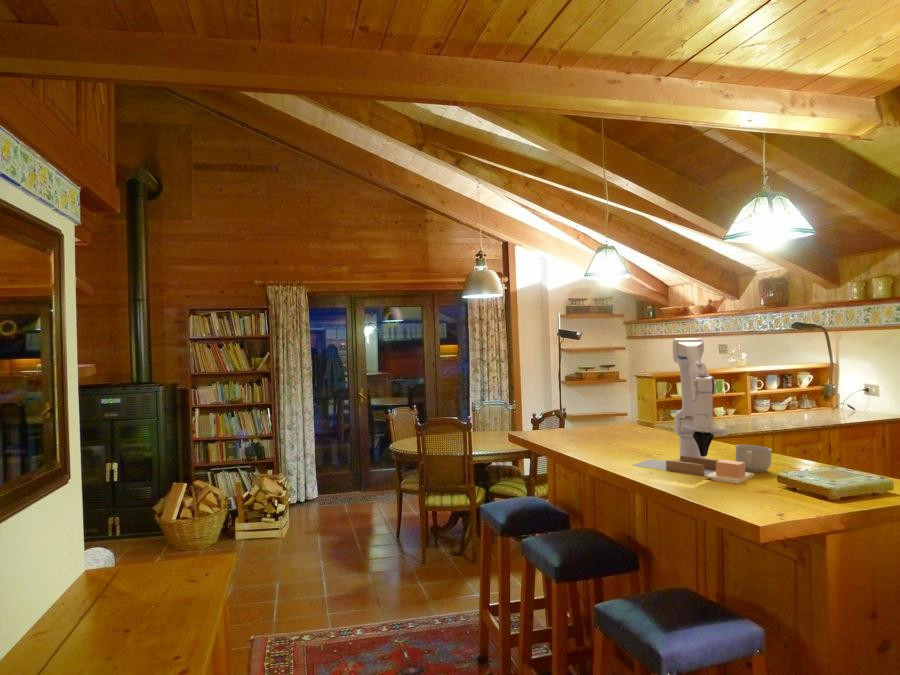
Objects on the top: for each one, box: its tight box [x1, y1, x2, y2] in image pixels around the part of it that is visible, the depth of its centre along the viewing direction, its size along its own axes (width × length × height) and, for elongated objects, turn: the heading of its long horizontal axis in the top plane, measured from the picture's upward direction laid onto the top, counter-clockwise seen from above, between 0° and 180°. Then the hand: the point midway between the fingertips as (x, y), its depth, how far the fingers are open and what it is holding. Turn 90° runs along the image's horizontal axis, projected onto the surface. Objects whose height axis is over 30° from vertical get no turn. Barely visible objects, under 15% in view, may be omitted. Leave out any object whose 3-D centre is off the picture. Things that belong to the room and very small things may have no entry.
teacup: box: [735, 444, 773, 473], centre depth 203 cm, size 14×11×8 cm
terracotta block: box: [716, 459, 746, 478], centre depth 194 cm, size 5×7×4 cm
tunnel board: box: [631, 455, 755, 485], centre depth 203 cm, size 14×35×4 cm, turn 45°
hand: (703, 455), depth 200 cm, fingers closed
